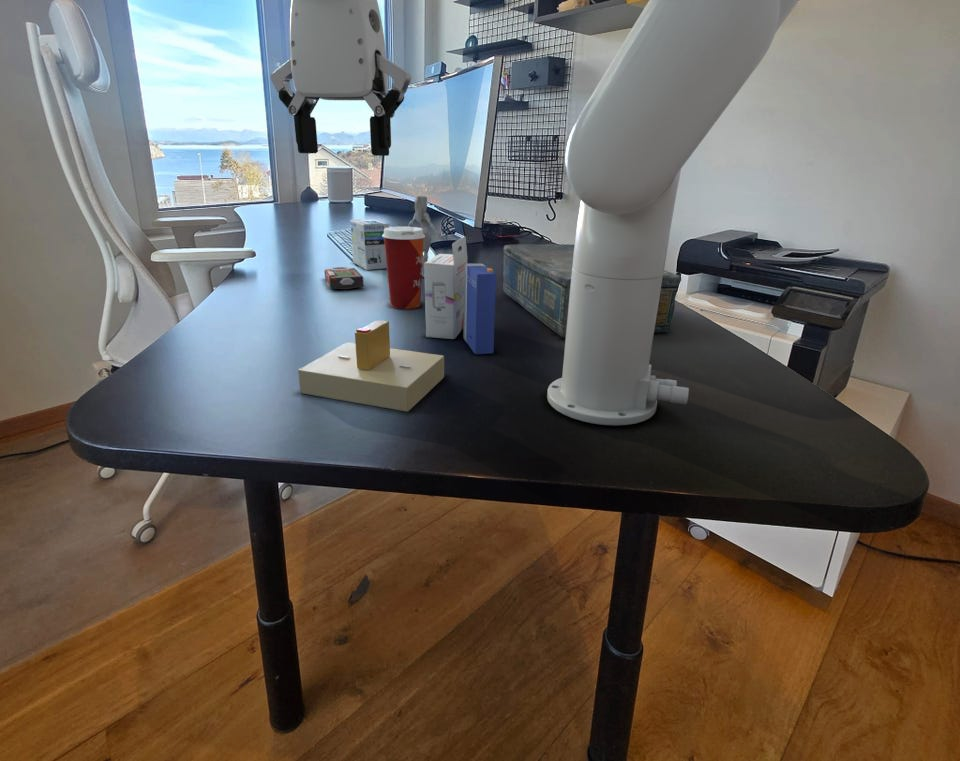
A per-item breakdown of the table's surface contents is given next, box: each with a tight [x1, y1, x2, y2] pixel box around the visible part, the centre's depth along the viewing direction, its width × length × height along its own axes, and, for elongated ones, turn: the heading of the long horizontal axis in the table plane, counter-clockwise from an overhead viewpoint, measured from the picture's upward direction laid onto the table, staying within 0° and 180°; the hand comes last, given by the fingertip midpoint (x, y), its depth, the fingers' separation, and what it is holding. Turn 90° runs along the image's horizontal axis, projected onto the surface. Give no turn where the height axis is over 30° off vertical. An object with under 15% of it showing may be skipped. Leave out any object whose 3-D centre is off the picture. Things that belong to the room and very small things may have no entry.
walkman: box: [462, 262, 497, 355], centre depth 80 cm, size 8×3×12 cm, turn 14°
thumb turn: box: [354, 319, 391, 370], centre depth 65 cm, size 6×2×5 cm, turn 162°
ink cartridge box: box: [423, 235, 468, 340], centre depth 86 cm, size 9×5×15 cm, turn 168°
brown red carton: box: [324, 266, 365, 290], centre depth 118 cm, size 7×3×15 cm
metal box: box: [502, 243, 682, 339], centre depth 100 cm, size 21×32×10 cm, turn 15°
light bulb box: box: [349, 218, 391, 271], centre depth 135 cm, size 11×7×11 cm, turn 30°
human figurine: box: [407, 194, 443, 279], centre depth 122 cm, size 12×4×18 cm, turn 49°
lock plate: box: [297, 341, 445, 413], centre depth 67 cm, size 14×11×3 cm
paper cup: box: [382, 226, 425, 310], centre depth 100 cm, size 8×8×14 cm
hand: (343, 154), depth 64 cm, fingers open, 9 cm apart
